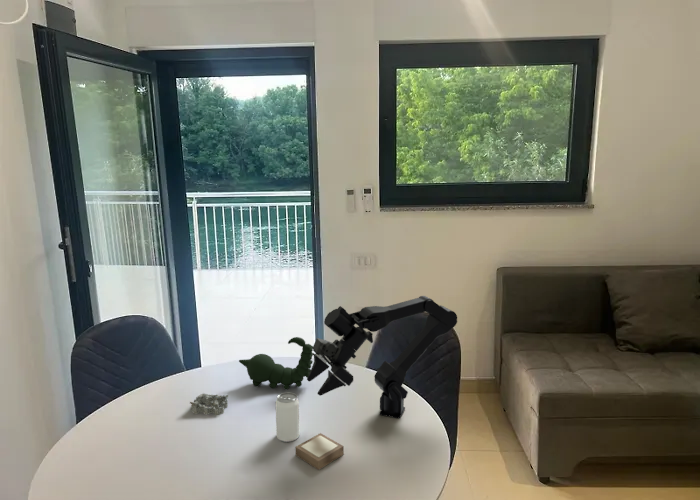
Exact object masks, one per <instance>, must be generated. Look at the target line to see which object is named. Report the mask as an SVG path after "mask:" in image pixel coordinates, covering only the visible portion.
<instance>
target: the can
mask: <svg viewBox="0 0 700 500" xmlns="http://www.w3.org/2000/svg"><path fill="white" fill-rule="evenodd" d="M299 402H300V401H299V399H298V395H297V394H296V393H294V392H289V391H288V392H282V393H280V394H278V395H277V396H276V401H275V427H276V428H275V429H276V430H275V431H276V438H277V439H278V440H279V441H280V442H283V443H290V442H295V441H296V440H297V439H298V438H299V437H300V403H299Z"/></svg>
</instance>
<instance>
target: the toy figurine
mask: <svg viewBox="0 0 700 500" xmlns="http://www.w3.org/2000/svg"><path fill="white" fill-rule="evenodd" d="M287 344H288V345H289V344H295V345H296V344H297V345H298V346H299V347H302V349H301V350H302V351H301V353H300V358H299V359H298V364H297V365H296V366H295V367H294V368H292V367H288V366H287V367H284V365H282V364H280V363H276V362H275V360H274V359H273V358H272V357H271V356H270V355H268V354H265V353H259V354H255V355H253V356H252V357H251V358H250V359H249V358H248V359H239V360H238V362H239V363H240V364H241V365H243V367H244V368H246V371H247V375H248V376H249V377H248V378H249V380H251V381H252V385H253V386H254V387H259V386H261V385H262V383H265V382H269V387H270V388H271V389H276V388H277V387H278V385H280V384H281V385H283V389H284V390H289V389H290V386H292V385H294V384H295V386H296V387H297V388H300V387H301V386H302V385H303V383H302V382H303V381H304V377H306V379H307V378H308V375H309V373H310V371H311V368H312V365H313V363H314V361H313V357H314V355H313V353H314V351H313V346H314V345H312V344H310V343H306V341H305V340H304V339H303V338H302V337H299V336H295V337H292V338H291V339H288V342H287Z"/></svg>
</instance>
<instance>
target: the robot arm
mask: <svg viewBox="0 0 700 500" xmlns="http://www.w3.org/2000/svg"><path fill="white" fill-rule="evenodd" d="M422 313H427V314H428V316H427V318H426V321H425V325H424V327H423V328H422V329H421V331H419V332H418V334H416V336H415V337H414V338H413V339H412V340H411V341H410V343H408V345H407V346H406V347H405V348H404V349H403V350H402V351H401V353H400V354H399V355H398V357H396V359H394V361H391V362H388V361H387V360H385V361H383V362H382V364H381V366H379V367H378V368H377V369H376V373H375V374H374V376H373V377H374V383H375V384H376V386H378V387H379V389H380V390H381V391H382V393H381V396H380V398H379V410H380V412H379V415H380V416H384V417H389V418H395V419H401V418H402V416H403V414H404V411H405V410H406V406H404V405H405V404H404V403H405V401H404V399H406V398H407V397H408V393H409V391H408V390H406V388H404V387H403V384H404V383H405V380H406V375H407V372H408V371H409V370H410V369H411V367H413V365H414V364H415V363H416V362H417V361H418V360H419V359H420V357H421V356H422V355H423V354H424V353H425V352H426V351H427V350H428V348H429V347H431V345H432V344H433V343H434V341H436V339H437V338H438V337H441V336H443V335H445V334H448V333H449V332H450V331H451V330H452V329H453V328H455V327H456V325H457V324H458V315H457V313H456V312H455V311H454V310H452V309H449V308H448V307H446V306H444V305H442V304H441V305H440V304H438V303H436V302H435V301H434V300H433V299H432V298H430V297H428V296H426V295H420V296H418V297H416V298H413V299H408V300H405V301H402V302H398V303H395V304H391V305H388V306H379V305H376V306H375V305H372V306H371V305H370V306H365V307H362V308H361V309H360V310H359V311H356V312H352V313H348V312H347V310H346V309H345V308H344V307H343V306H341V305H340V306H338V307H337V308H335V309H333V310H331V311H329V312H328V313H327V315H326V317H325V318H324V321H323V322H324V325H325V326H326V327H327V328H329V329H330V330H331V331H332V332H333V333H335V334H336V335H337V336H338V337H341V338H340V339H335V340H334V341H333V342H331V341H328V340H326V339H323V338H319V337H316V339H315V341H314V343H313V345H312V346H313V351H312V353H313V360H314V361H313V362H312V365H311V368H310V369H311V371H310V373H309V375H308V378H307V377H306V381H308V382H311V381H313V380H315V379H316V378H317V377H318V376H320V375H321V374H322V373H324V372H326V371H327V378H326V380H325V381H324V382H323V384H322V385H321V386H320V388H319V389H318V390H317V391H318V392H317V395H319V396H323V395H325V394H327V393H329V392H331V391H334V390H336V389H338V388H342V387H346V386H348V387H350V386H351V385H352V383H353V382H354V375H353V374H352V373H350V371H349V370H348V366H347V363H348V362H349V361H350V360H351V359H356V357H357V355H356V352H358V350H359V349H360V348H361V347H362V346H363V344H364V343H365V342H366V341H368V342H369V343H370V344H373V342H374V339H373V338H374V337H373V333H375V332H378V331H380V330H383V329H384V328H386V327H388V325H389V324H390V323H392V322H394V321H399V320H401V319H406V318H409V317H413V316H416V315H419V314H422ZM355 325H357V326H355ZM366 330H368V331H366ZM372 332H373V333H372ZM330 367H331V368H330ZM329 368H330V370H329Z"/></svg>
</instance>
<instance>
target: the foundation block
mask: <svg viewBox="0 0 700 500" xmlns="http://www.w3.org/2000/svg"><path fill="white" fill-rule="evenodd" d="M294 448H295V456H296V457H297V458H299V459H301V460H302V461H304V462H305V463H307V464H309V465H310V466H312V467H313V468H314V469H317V470H319V471H320V470H321V469H323V468H324V467H326V466H327V465H330V464H331V463H333V462H334V461H335V460H337V459H339V458H340V457H342V456H343V455H345V454H344V452H345V451H344V445H342V444H341V443H340V442H337V441H335V440H334V439H332V438H330V437H328V436H327V435H325V434H323V433H321V432H320V433H318V434H316V435H314V436H313V437H310V438H308V439H307V440H305V441H304V442H301V443H300V444H298V445H296V446H295V447H294Z"/></svg>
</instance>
